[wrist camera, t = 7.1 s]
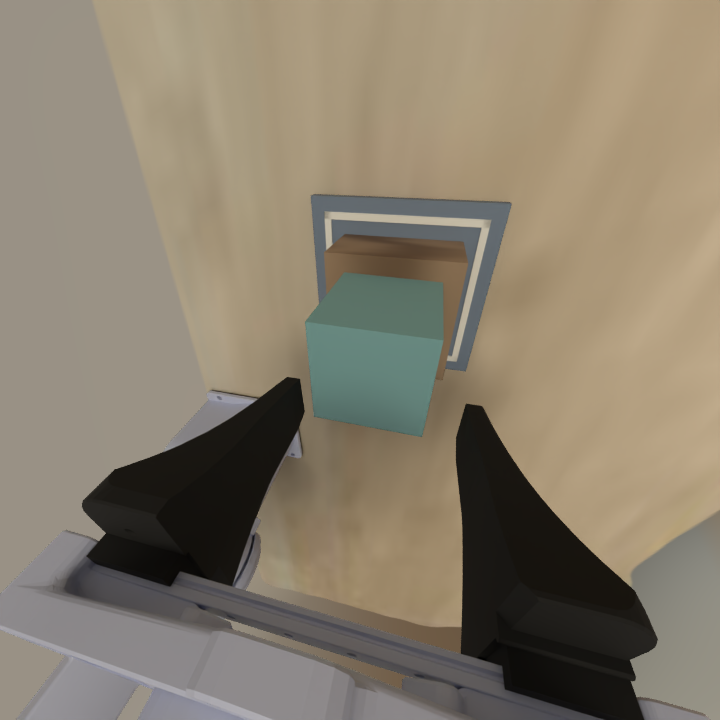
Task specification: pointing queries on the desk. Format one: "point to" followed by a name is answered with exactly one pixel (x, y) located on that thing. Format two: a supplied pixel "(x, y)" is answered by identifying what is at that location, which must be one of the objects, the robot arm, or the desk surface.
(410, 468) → the desk surface
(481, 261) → the mat
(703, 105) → the desk surface
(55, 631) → the robot arm
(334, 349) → the teal block
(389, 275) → the walnut base block
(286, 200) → the desk surface
